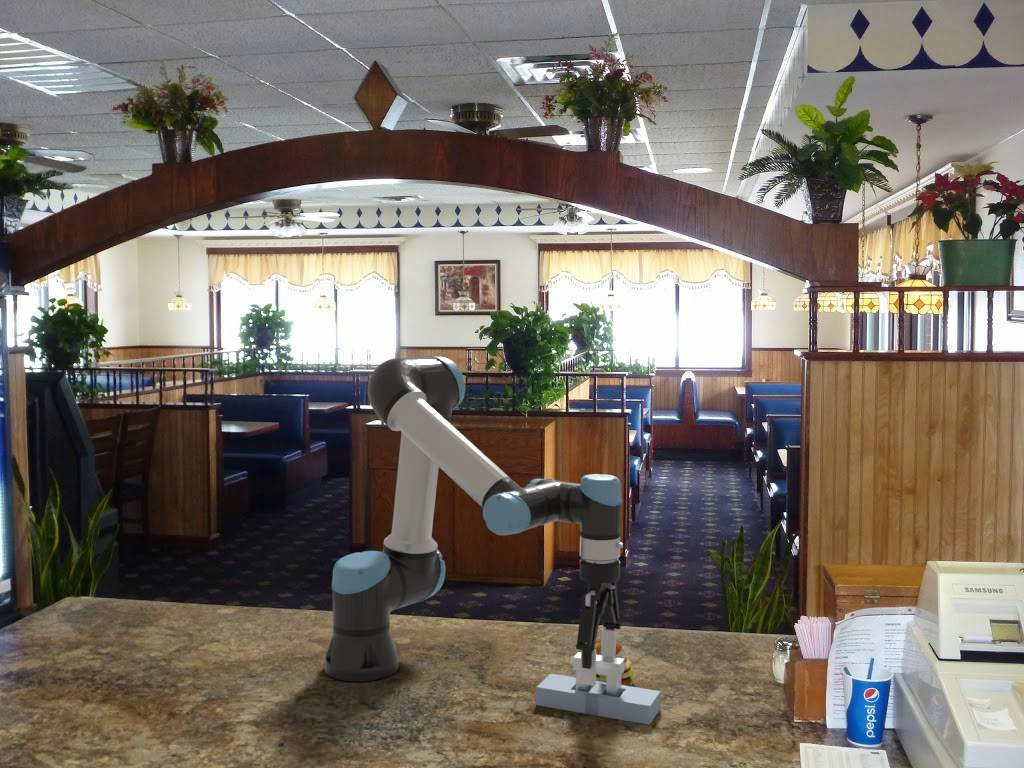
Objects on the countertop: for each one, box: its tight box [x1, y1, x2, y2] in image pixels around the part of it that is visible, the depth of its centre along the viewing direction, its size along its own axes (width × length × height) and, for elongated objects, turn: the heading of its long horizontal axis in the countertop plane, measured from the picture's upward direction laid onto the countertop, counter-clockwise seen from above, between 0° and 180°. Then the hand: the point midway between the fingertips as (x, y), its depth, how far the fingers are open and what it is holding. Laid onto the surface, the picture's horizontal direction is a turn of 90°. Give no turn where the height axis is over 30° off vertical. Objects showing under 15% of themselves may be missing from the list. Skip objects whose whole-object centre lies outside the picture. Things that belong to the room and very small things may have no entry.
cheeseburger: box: [578, 639, 636, 687], centre depth 202 cm, size 10×11×10 cm
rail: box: [535, 673, 662, 726], centre depth 190 cm, size 22×8×4 cm, turn 67°
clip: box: [572, 651, 624, 697], centre depth 189 cm, size 9×3×10 cm, turn 67°
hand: (598, 673), depth 189 cm, fingers open, 11 cm apart
